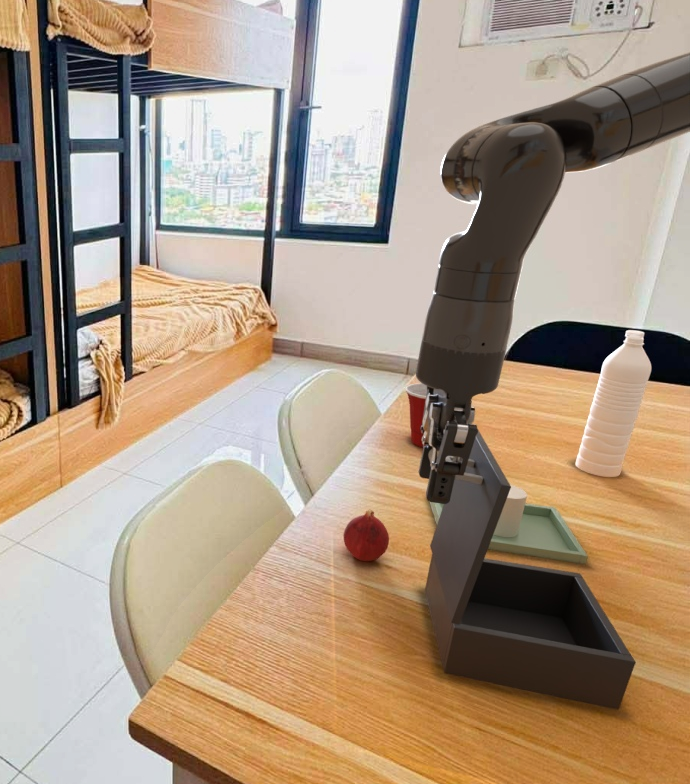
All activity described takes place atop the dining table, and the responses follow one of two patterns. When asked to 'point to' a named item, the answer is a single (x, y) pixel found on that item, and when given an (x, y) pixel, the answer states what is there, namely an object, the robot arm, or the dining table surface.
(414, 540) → the dining table surface
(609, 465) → the water bottle
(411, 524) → the dining table surface
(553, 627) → the dark gray hinged box
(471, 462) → the lid
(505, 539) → the drip tray
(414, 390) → the plastic cup
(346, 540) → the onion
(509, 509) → the white cylinder
